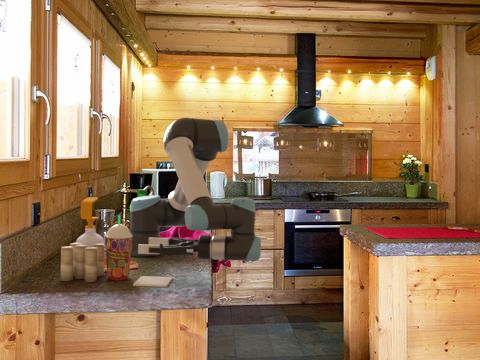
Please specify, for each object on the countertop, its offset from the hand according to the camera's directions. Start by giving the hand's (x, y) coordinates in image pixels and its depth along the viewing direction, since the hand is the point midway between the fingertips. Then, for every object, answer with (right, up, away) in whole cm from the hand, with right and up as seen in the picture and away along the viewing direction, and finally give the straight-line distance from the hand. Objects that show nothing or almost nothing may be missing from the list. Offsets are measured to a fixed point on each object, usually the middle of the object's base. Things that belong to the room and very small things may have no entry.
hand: (143, 245), depth 148 cm
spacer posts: (-19, -10, +1) cm, 22 cm away
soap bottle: (-21, -10, +12) cm, 26 cm away
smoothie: (-8, -11, +1) cm, 14 cm away
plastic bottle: (-14, -9, +62) cm, 64 cm away
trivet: (+4, -11, -3) cm, 12 cm away
